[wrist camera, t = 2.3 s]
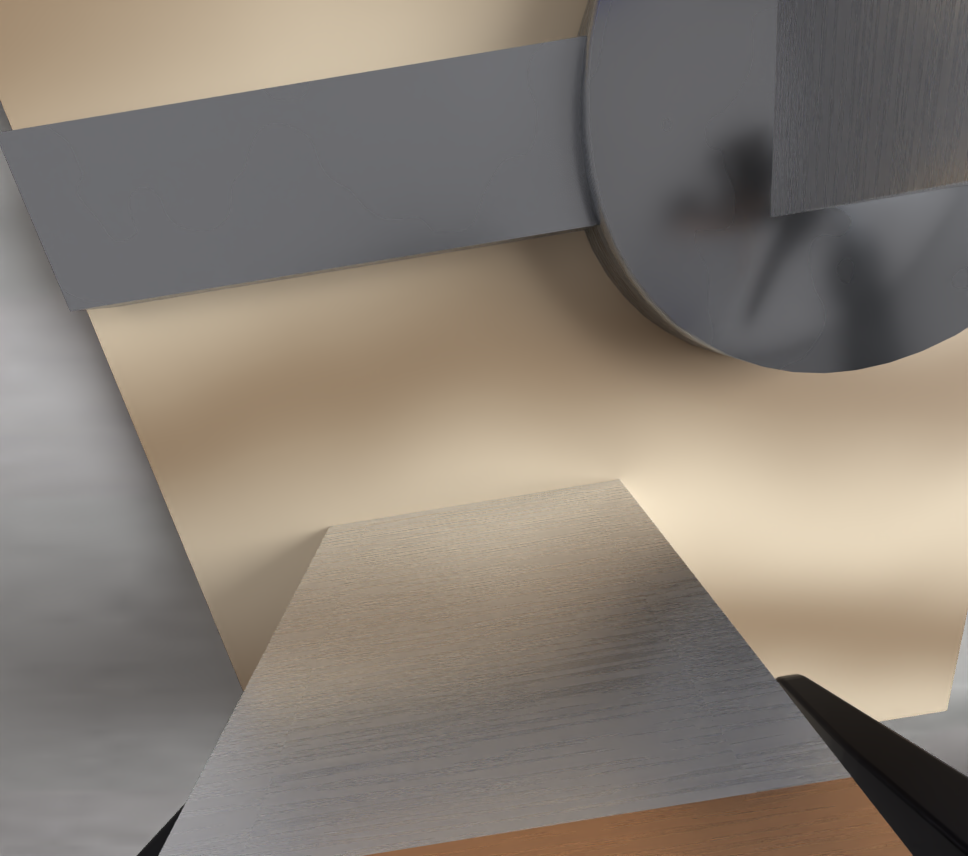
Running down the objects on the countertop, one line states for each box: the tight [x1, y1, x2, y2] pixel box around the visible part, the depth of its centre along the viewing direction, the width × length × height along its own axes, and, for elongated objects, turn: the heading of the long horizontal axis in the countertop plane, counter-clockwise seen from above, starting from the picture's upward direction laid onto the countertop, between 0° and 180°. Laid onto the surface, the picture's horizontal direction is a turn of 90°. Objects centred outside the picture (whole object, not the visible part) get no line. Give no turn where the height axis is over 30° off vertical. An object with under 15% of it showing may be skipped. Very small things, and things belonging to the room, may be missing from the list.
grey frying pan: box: [0, 0, 968, 373], centre depth 5 cm, size 8×16×5 cm, turn 99°
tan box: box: [158, 479, 913, 856], centre depth 7 cm, size 6×6×7 cm
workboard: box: [0, 0, 968, 722], centre depth 9 cm, size 20×17×1 cm
